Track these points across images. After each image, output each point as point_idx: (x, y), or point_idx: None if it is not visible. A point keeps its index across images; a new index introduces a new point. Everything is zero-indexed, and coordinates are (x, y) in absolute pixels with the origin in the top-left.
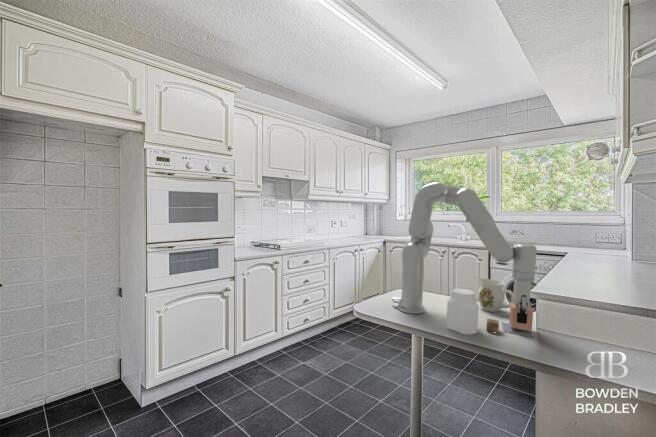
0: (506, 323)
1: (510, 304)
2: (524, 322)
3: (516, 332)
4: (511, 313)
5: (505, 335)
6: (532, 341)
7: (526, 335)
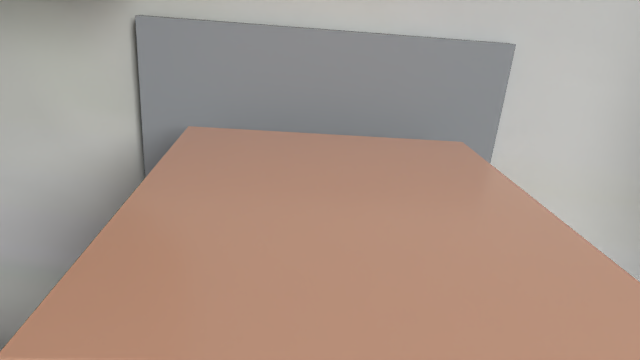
0: (481, 103)
1: (631, 328)
2: None
3: None
4: (145, 226)
5: (5, 22)
6: (13, 301)
7: None
